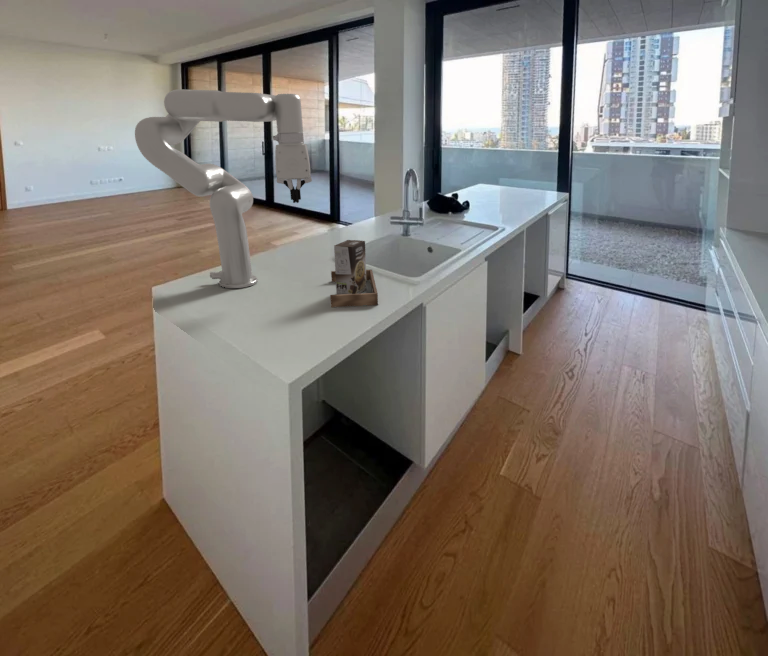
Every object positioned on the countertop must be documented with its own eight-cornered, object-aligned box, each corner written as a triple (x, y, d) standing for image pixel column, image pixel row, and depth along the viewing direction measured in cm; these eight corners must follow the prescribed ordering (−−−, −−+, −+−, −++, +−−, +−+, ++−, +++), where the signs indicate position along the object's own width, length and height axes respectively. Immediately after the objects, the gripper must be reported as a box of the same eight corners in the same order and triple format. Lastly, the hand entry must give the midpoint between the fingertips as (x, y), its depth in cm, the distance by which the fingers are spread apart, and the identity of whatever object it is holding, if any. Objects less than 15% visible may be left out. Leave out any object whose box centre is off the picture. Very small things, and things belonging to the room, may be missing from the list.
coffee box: (354, 298, 152) (351, 247, 146) (335, 296, 155) (332, 245, 149) (367, 290, 160) (366, 240, 154) (349, 287, 162) (347, 238, 156)
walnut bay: (330, 307, 146) (330, 295, 144) (331, 281, 169) (331, 271, 168) (377, 304, 147) (377, 293, 145) (372, 279, 170) (371, 269, 169)
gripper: (263, 140, 144) (270, 204, 152) (315, 139, 146) (319, 203, 153) (267, 139, 151) (273, 201, 158) (316, 138, 152) (320, 199, 160)
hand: (296, 202), depth 156 cm, fingers closed
